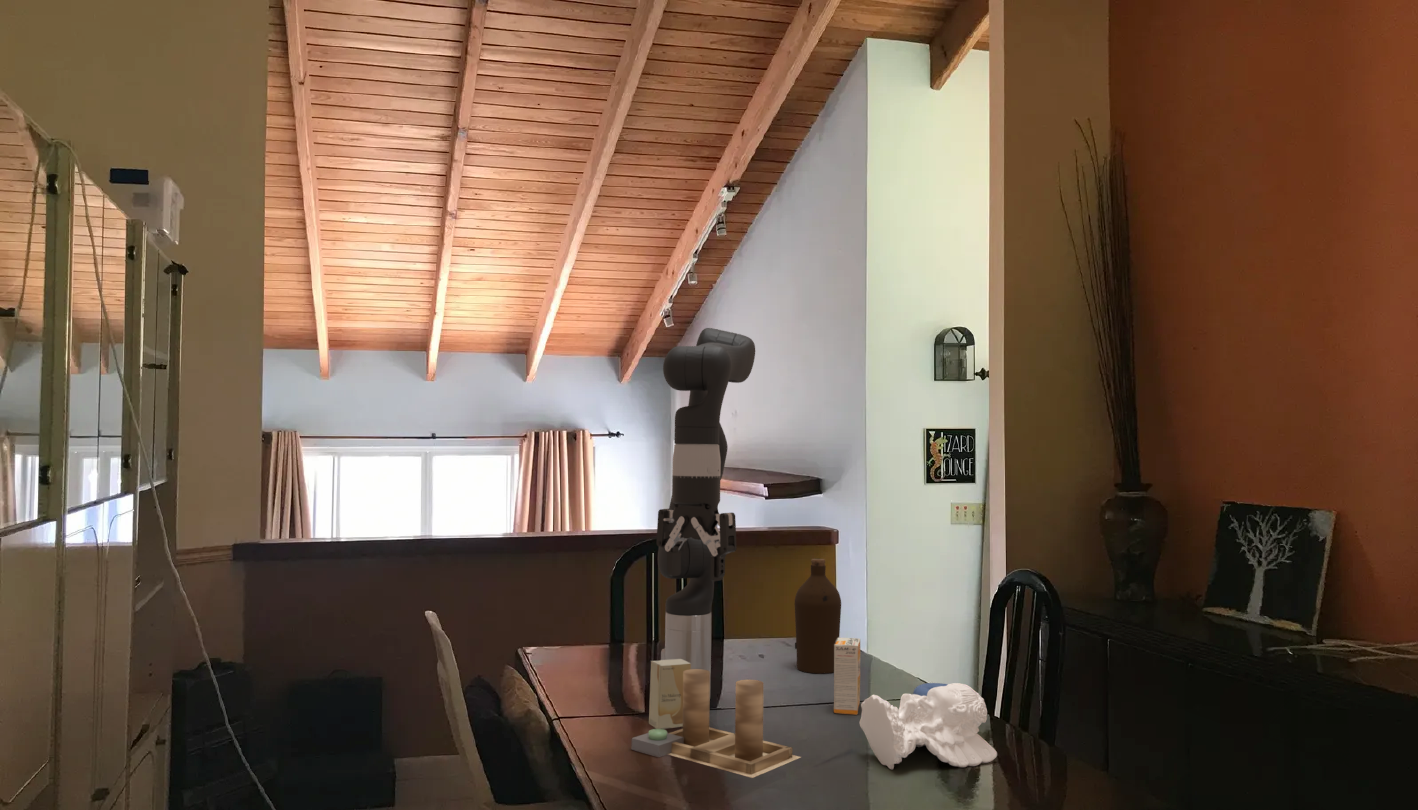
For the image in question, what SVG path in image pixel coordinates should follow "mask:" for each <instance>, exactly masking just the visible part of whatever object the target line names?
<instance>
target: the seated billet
mask: <svg viewBox="0 0 1418 810" xmlns="http://www.w3.org/2000/svg"><path fill="white" fill-rule="evenodd" d="M710 699H711V679H710V671H708V670H703V669H689V670H685V671H684V672H683V726H682V729H683V737H684V744H686V745H689V746H693V747H696V746H698V745H701V744H704V743H707V742H709V727H710V702H711V701H710Z"/></svg>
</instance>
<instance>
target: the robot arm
mask: <svg viewBox="0 0 1418 810" xmlns="http://www.w3.org/2000/svg"><path fill="white" fill-rule="evenodd" d="M755 357H756V345H755V343H754V340H753V339H752V338H750V337H749V336H747V335H744V334H741V333H736V332H732V331H731V332H730V331H728V330H723V329H722V330H721V329H717V328H713V327H712V328H711V327H705V328H704V329H703V330H702V331H701V332H700V334H699V336H698V338H697V341H696V345H693V346H691V345H683V346H681V345H680V346H679V345H678V346H674V347H672V348H671V349H670V350H669V351H668V353H667V354H666V355H665V358H664V362H663V363H662V364H663V366H662V367H663V368H662V371H663V377H664V379H665V381H666V384H667V385H668V386H670V388H672V389H674V390H675V391H681V392H684V391H685V392H689V396H688V397H689V399H688V404H687V405H685V406H682V407H680V408H678V409H677V410H676V411H675V414H674V437H673V439H674V440H673V441H674V448H673V454H672V470H671V472H672V476H671V479H672V480H671V481H672V482H671V484H672V485H671V491H672V492H671V497H670V502H669V506H668V508H663V509H662V508H660V509H658V512H657V527H656V546H657V547H658V551H657V565H658V569H659V572H660V574H661V575H662V576H663V577H664V578H666V579H673V580H674V579H689V581H688V583H687V585H686V586H684V587H683V588H682V589H681V590H678V591H677V592H675V593H673V594H671V595H669V596H668V597H667V598H666V600H665V617H664V618H665V619H664V620H665V621H664V622H665V628H664V633H665V634H664V635H665V636H664V641H665V642H664V648H662V649H661V652H660V660H672V659H683V660H685V661H687V662H689V663H691V669H703V670H708V671H710V680H711V679H712V678H711V676H712V675H711V670H712V669H711V668H712V666H711V665H712V661H711V660H712V659H711V658H712V657H711V656H712V605H713V600H714V595H715V593H714V590H715V582H718V581H723V579H724V577H725V574H726V555H728V554H730V553H735V552H736V550H737V530H736V529H737V527H736V526H737V525H736V514H735V513H734V512H721V513H720V511H719V509H718V506H719V504H720V502H721V480H722V478H723V474H724V470H725V465H726V464H725V463H726V460H727V454H728V442H727V438H726V435H725V432H724V429H723V426H722V424H721V422H720V421H721V414H722V413H721V412H722V405H723V403H724V398H725V394H726V391H727V388H728V384H729V383H735V384H739V383H743V382H745V381H746V380H747V379H748V378H749V376H750V374H751V373H752V369H753V366H754V362H755ZM717 526H719V529H718V527H717Z"/></svg>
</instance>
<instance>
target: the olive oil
mask: <svg viewBox="0 0 1418 810" xmlns="http://www.w3.org/2000/svg"><path fill="white" fill-rule="evenodd" d="M810 563H811V564H810V576H809V577H808V578H807V579H806V580H805V581H804V583H803V584H801V586H799V588H798V589H797V591H796V595H795V597H794V619H795V620H794V621H795V643H794V648H795V649H794V650H796V669H797V670H799V671H800V672H804V673H808V674H821V675H822V674H823V675H824V674H831V673H833V674H834V645H835V642H836V640H837V638H840V633H841V631H840V630H841V629H840V628H841V617H842V616H841V614H842V613H841V612H842V599H841V596H840V592H839V590H838V589H837V588H836V586H835V585H834V584H833V583H832V582H831V581H830V580H829V579H828V577H827V575H826V566H827V565H826V559H825V558H811V561H810Z"/></svg>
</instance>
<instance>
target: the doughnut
mask: <svg viewBox="0 0 1418 810" xmlns="http://www.w3.org/2000/svg"><path fill="white" fill-rule="evenodd" d="M948 684H949V683H942V682H927V683H922V684H919V685H917V686H916V687H915V688H914V690H913V693H912V694H916V695H920V696H927V693H928V691H929V690H930V689H932V688H935V687H940V686H947V685H948Z"/></svg>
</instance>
